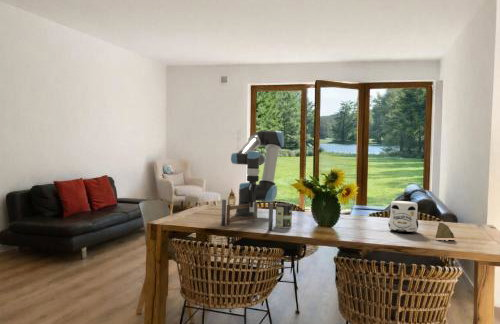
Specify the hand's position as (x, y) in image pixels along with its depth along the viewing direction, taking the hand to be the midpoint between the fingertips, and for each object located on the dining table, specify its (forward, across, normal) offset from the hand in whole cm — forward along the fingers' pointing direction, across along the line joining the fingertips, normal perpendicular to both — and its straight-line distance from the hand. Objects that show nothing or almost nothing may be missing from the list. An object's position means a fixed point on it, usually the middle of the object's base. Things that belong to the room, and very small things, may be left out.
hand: (251, 211), depth 271 cm
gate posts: (+7, -15, -1) cm, 17 cm away
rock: (+8, +1, -114) cm, 114 cm away
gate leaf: (+6, -4, +5) cm, 9 cm away
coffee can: (+8, -1, -21) cm, 23 cm away
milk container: (+8, +17, -92) cm, 94 cm away
